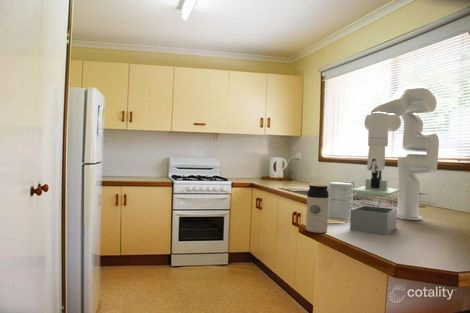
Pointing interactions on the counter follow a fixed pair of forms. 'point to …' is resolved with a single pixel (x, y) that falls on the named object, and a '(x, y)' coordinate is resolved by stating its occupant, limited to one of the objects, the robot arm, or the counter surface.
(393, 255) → the counter surface
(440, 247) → the counter surface
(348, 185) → the supplement box
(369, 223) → the tub
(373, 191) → the lid
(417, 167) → the robot arm
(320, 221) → the travel mug
